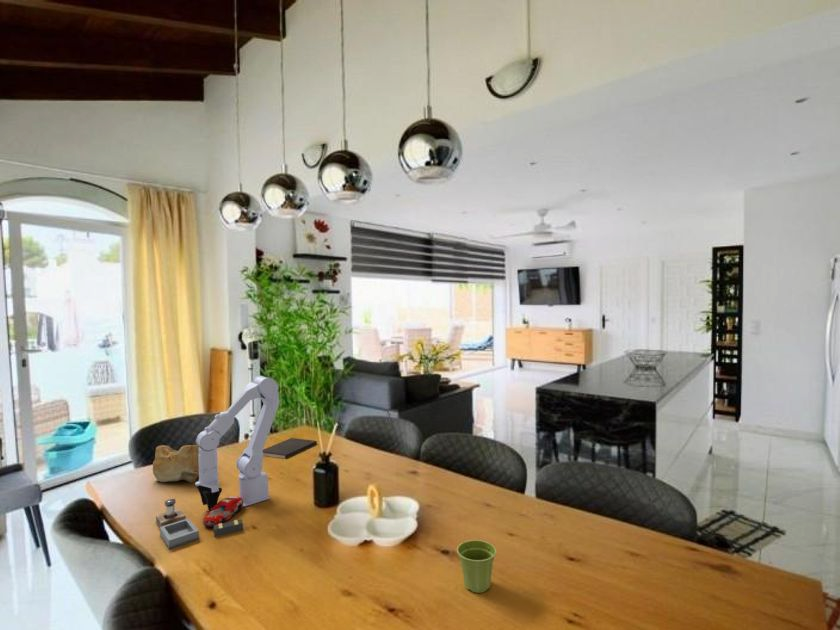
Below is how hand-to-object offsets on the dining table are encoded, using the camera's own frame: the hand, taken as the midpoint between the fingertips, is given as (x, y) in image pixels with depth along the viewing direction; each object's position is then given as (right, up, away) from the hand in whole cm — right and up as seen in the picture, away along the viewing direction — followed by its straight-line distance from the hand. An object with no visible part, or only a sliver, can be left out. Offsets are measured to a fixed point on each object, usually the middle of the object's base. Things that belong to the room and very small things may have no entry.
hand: (209, 507), depth 151 cm
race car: (+7, -2, -4) cm, 8 cm away
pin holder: (-9, -2, -6) cm, 12 cm away
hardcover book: (+7, -1, +66) cm, 67 cm away
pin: (-9, -2, -6) cm, 12 cm away
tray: (-1, -2, -16) cm, 16 cm away
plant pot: (+85, -1, -43) cm, 95 cm away
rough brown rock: (-24, -2, +33) cm, 41 cm away
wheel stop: (+12, -2, -13) cm, 18 cm away
